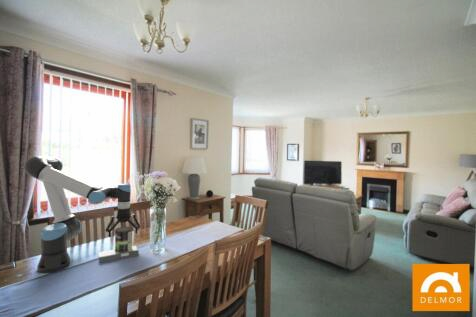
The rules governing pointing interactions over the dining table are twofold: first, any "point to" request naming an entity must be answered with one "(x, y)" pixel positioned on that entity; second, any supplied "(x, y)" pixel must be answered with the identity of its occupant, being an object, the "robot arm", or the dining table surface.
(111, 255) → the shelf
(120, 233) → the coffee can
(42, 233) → the robot arm
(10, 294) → the dining table surface
